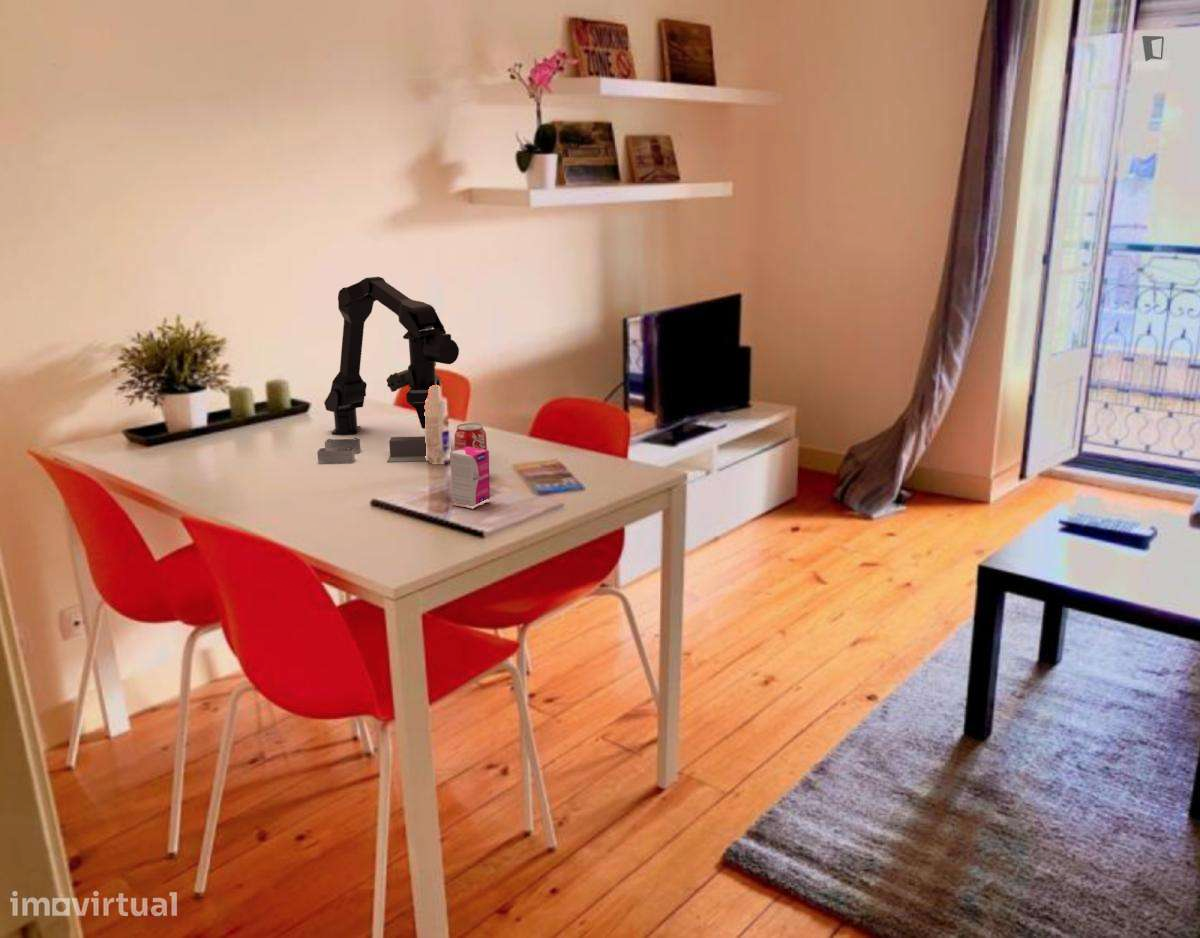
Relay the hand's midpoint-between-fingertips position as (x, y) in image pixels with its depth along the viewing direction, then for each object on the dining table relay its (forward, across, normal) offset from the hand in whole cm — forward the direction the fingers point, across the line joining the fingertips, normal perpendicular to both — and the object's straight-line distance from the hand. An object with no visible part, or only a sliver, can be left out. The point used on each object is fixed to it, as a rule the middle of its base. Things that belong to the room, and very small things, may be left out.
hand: (426, 423), depth 231 cm
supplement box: (+8, +37, +13) cm, 40 cm away
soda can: (+8, +19, +12) cm, 24 cm away
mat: (+8, 0, -4) cm, 9 cm away
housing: (+8, 0, -21) cm, 23 cm away
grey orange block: (+8, 0, -3) cm, 8 cm away
